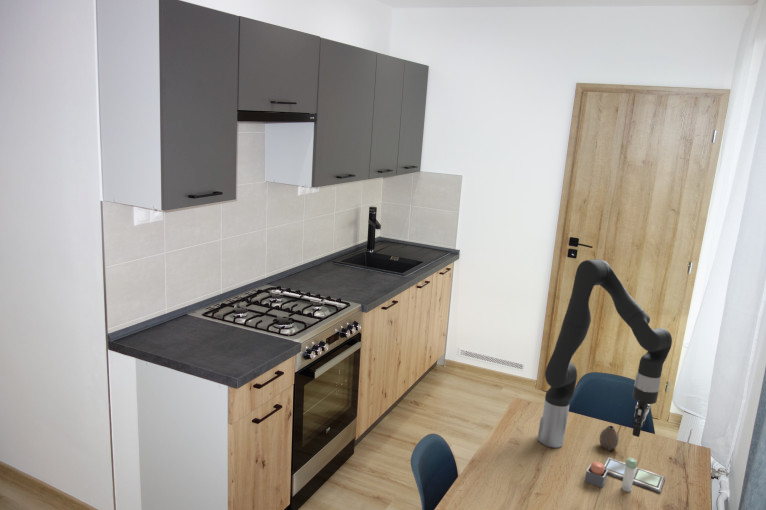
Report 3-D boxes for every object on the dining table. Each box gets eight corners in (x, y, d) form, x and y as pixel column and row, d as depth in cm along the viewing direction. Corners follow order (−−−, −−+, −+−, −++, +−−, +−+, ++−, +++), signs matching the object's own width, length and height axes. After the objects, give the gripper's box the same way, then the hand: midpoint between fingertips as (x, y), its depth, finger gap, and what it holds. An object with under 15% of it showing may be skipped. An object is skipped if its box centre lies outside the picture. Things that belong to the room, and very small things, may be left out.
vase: (618, 453, 232) (622, 432, 230) (599, 450, 233) (603, 429, 231) (615, 444, 239) (618, 424, 237) (597, 441, 240) (600, 421, 238)
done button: (588, 474, 211) (590, 465, 211) (591, 468, 215) (593, 460, 214) (601, 479, 209) (603, 470, 208) (604, 473, 213) (606, 464, 212)
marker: (620, 489, 209) (625, 460, 206) (622, 484, 212) (627, 456, 209) (630, 493, 207) (636, 464, 204) (632, 488, 210) (638, 460, 207)
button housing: (584, 481, 212) (586, 471, 211) (589, 473, 217) (590, 463, 216) (602, 487, 209) (604, 477, 208) (606, 480, 214) (608, 469, 213)
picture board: (600, 471, 218) (600, 469, 218) (607, 458, 228) (607, 456, 227) (659, 493, 208) (660, 490, 208) (664, 478, 217) (665, 476, 217)
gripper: (638, 376, 209) (630, 419, 212) (630, 390, 197) (622, 435, 200) (662, 382, 205) (653, 426, 209) (655, 397, 193) (646, 443, 197)
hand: (638, 430), depth 205 cm, fingers open, 8 cm apart
